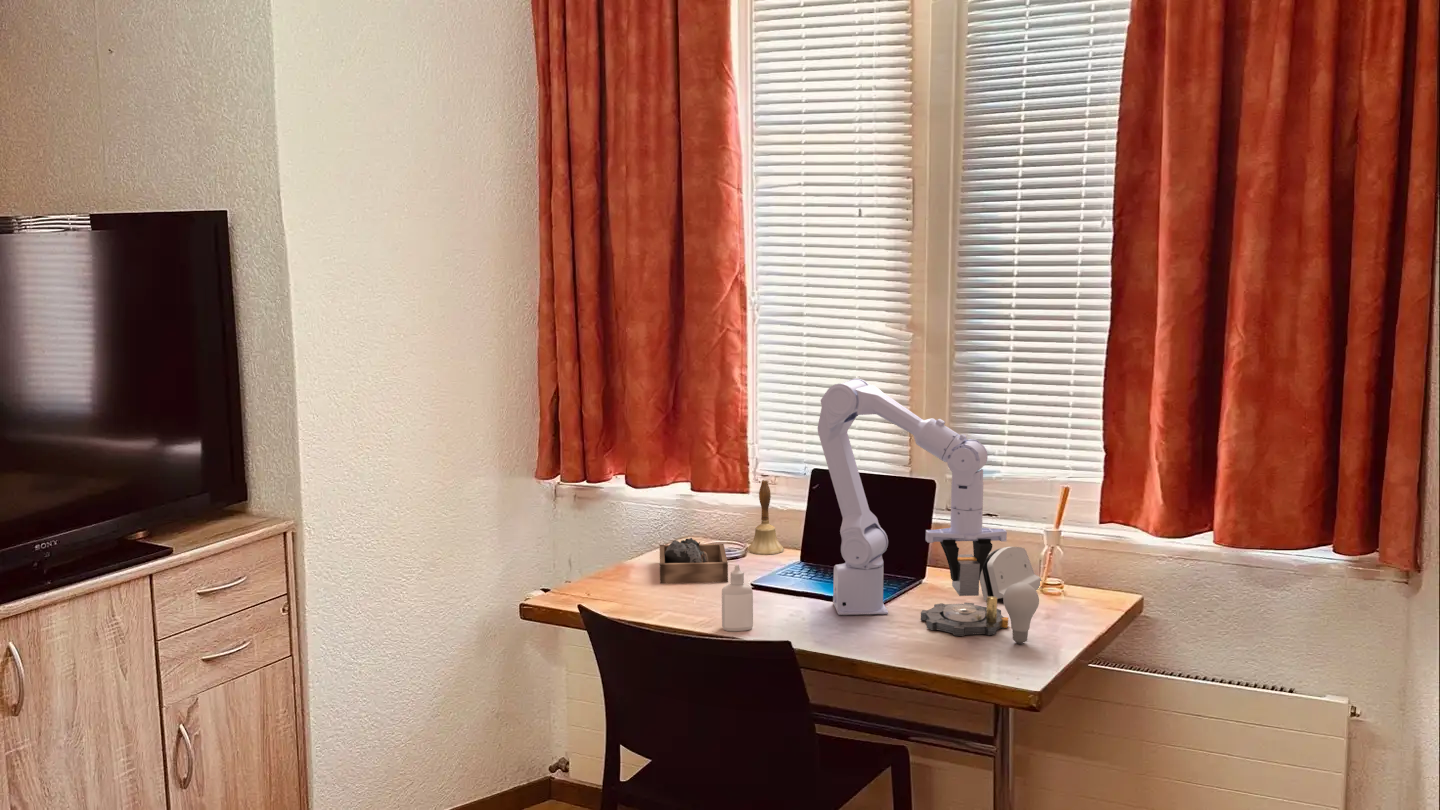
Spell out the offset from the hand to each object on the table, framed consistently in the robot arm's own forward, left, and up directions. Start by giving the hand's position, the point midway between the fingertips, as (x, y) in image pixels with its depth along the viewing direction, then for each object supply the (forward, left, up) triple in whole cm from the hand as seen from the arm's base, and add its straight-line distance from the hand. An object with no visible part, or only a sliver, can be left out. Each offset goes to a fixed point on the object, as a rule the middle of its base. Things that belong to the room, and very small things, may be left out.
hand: (965, 579), depth 231 cm
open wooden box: (-49, +38, -8) cm, 63 cm away
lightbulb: (+7, -12, -9) cm, 16 cm away
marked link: (0, 0, -2) cm, 2 cm away
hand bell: (-32, +55, -9) cm, 64 cm away
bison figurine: (-49, +38, -8) cm, 62 cm away
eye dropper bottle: (-42, 0, -9) cm, 43 cm away
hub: (0, 0, -8) cm, 8 cm away
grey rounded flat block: (+14, +19, -9) cm, 25 cm away
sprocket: (0, 0, -8) cm, 8 cm away
